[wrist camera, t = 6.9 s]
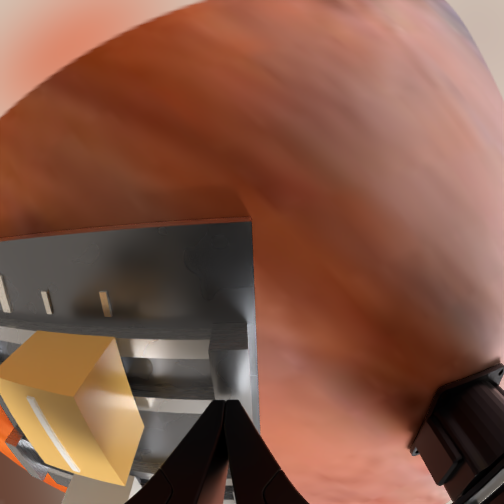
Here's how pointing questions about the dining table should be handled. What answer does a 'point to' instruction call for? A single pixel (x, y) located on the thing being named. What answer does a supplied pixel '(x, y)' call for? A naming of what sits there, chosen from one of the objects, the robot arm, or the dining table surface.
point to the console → (142, 319)
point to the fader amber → (74, 403)
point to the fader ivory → (99, 491)
